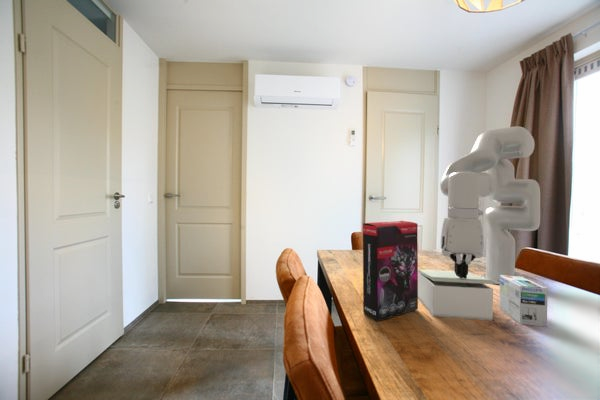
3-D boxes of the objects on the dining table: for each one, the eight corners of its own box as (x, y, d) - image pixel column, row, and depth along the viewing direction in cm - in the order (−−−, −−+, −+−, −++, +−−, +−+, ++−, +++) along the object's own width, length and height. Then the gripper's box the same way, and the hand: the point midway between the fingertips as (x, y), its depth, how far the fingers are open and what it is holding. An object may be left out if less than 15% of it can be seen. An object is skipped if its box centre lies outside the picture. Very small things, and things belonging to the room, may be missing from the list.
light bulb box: (548, 327, 69) (549, 288, 69) (519, 324, 71) (520, 286, 70) (522, 310, 80) (523, 275, 79) (498, 307, 81) (498, 274, 81)
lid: (467, 274, 86) (467, 271, 86) (493, 284, 72) (493, 280, 72) (418, 271, 88) (418, 269, 88) (433, 280, 75) (433, 277, 75)
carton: (467, 300, 86) (467, 274, 86) (492, 320, 73) (493, 289, 72) (417, 297, 89) (418, 271, 88) (432, 316, 75) (433, 285, 75)
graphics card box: (377, 323, 70) (378, 224, 70) (360, 312, 76) (361, 222, 76) (418, 310, 78) (420, 222, 78) (400, 302, 84) (401, 220, 84)
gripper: (483, 213, 77) (481, 274, 77) (430, 212, 79) (429, 271, 79) (498, 215, 69) (497, 282, 70) (440, 214, 72) (439, 279, 72)
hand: (461, 276), depth 75 cm, fingers closed
